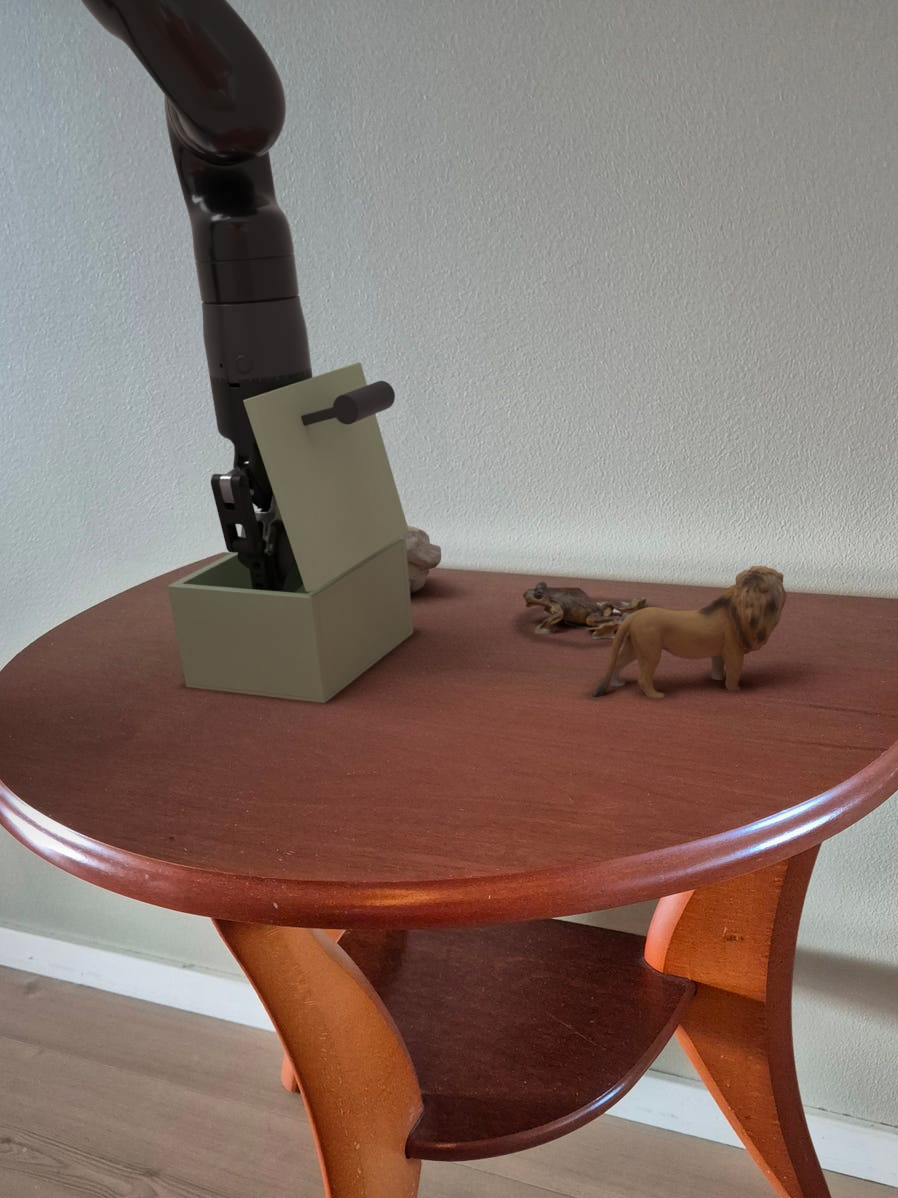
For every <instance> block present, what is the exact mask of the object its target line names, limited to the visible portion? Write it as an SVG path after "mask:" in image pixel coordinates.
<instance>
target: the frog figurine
mask: <svg viewBox="0 0 898 1198" xmlns="http://www.w3.org/2000/svg"><path fill="white" fill-rule="evenodd" d="M522 597H523V599H524V601H525V607H526V608H532V607H535V606H536V607H537V606H540V607H543V610H544V611H543V613H544V614H547V615H551V616H549V617H547V618H544V619H543V620H542V622H541V623H540V624H539V625H538V626H536V628H535V630H534V633H535V634H539V635H549V634H554V633H556V628H555V627H554V625H557V624H558V623H560V622H561V621H562V620H563V622H564V624H565V625H567V626H570V627H573V628H577V629H585V631H593V633H592V634H591V639H593V640H599V639H614V637H615V635H616V633H615V631H616V630H617V629H618V628H619V624H622V622H623V621H624V620H625V619H626V618H627V617H628V616H629V615H630V614H632V613H634V612H636V611H638V610H641V609H644V608H647V607H649V606H648V603H647V599H646V598H645V597H643V596H639V597H636V598H635V599H634V598H631V599H630V600H629V602H625V601H621V600H606V601H597V600H593V598H591V597H590V596H589V595H588V593H587V592H586V591H583V590H582V588H580V587H573V586H572V587H570V586H569V587H567V586H566V587H565V586H564V587H547V582H544V581H543V582H542V581H541V582H538V583H537V584H536V585H535V587H534V588H527V589H525V591H524V592H523V595H522ZM614 613H620V614H622V616H620V615H614Z"/></svg>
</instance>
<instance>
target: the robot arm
mask: <svg viewBox="0 0 898 1198" xmlns="http://www.w3.org/2000/svg"><path fill="white" fill-rule="evenodd" d="M81 3H82V4H83V5H84V7H85V8H86V9H87V11H88V12H89V13H90V14H91V15H92V17H93V18H94V19H95V20H96V21H97V22H98V23H99V24H100V26H101V27H102V28H103V29H105V31H107V32H108V33H109V34H110V35H111V36H113V37H115V38H117V39H118V40H120V41H122V42H123V43H124V44H125V46H127V47H128V48H129V50H130V51H131V52H132V53H133V55H134V56H135V58H136V59H137V60H138V61H139V63H140V64H141V65H142V66H143V68H144V69H145V71H146V72H147V73H148V75H149V76H150V78H152V80H153V81H154V83H155V84H156V85H157V86H158V88H159V89H160V91H161V92H162V93H163V96H164V97H163V98H164V99H163V100H164V101H163V103H164V114H165V122H166V128H167V134H168V139H169V143H170V147H171V148H170V149H171V152H172V157H173V161H174V166H175V171H176V173H177V177H178V182H179V185H180V188H181V194H182V195H183V200H184V203H185V206H186V210H187V213H188V217H189V222H190V228H191V235H192V247H193V256H194V260H195V261H194V264H195V270H196V276H197V283H198V289H199V295H200V301H201V311H202V335H203V336H202V337H203V344H204V349H205V356H206V362H207V368H208V375H209V381H210V387H211V388H210V389H211V395H212V401H213V407H214V414H215V421H216V426H217V431H218V433H219V435H220V436H221V437H223V438H225V439H228V440H229V441H230V442H231V443H232V445H233V451H234V454H233V462H232V463H233V465H232V466H233V467H232V469H231V470H230V471H228V472H227V473H213V474H212V475H211V476H210V477H211V478H210V487H211V491H212V494H213V498H214V502H215V506H216V510H217V514H218V519H219V523H220V527H221V531H222V535H223V539H224V543H225V547H226V548H225V549H226V551H227V552H228V553H232V552H233V553H243V554H245V555H246V556H247V558H248V563H249V570H250V576H251V583H252V589H254V590H266V591H278V592H282V585H281V578H280V572H279V565H278V556H277V554H274V553H275V549H276V538H277V529H278V527H279V526H280V525H282V524H283V520H282V517H281V514H280V511H279V508H278V505H277V502H276V499H275V496H274V493H273V490H272V487H271V484H270V481H269V478H268V475H267V472H266V468H265V465H264V462H263V459H262V456H261V453H260V450H259V447H258V444H257V441H256V438H255V435H254V432H253V429H252V426H251V423H250V420H249V417H248V414H247V411H246V408H245V405H244V402H243V401H244V400H246V399H249V398H252V397H255V396H258V395H261V394H264V393H267V392H270V391H273V390H276V389H279V388H282V387H285V386H288V385H291V384H294V383H298V382H301V381H304V380H307V379H310V378H312V377H313V370H312V368H313V367H312V360H311V353H310V352H311V351H310V344H309V334H308V329H307V324H306V319H305V316H304V312H303V307H302V303H301V297H300V295H299V294H300V287H299V280H298V269H297V262H296V261H297V260H296V255H295V249H294V241H293V235H292V230H291V226H290V223H289V220H288V218H287V216H286V214H285V212H284V211H283V209H282V208H281V207H280V205H279V203H278V200H277V196H276V190H275V183H274V182H275V181H274V176H273V170H272V164H271V163H272V162H271V157H270V150H271V149H272V148H273V147H274V146H275V145H276V143H277V141H278V140H279V138H280V136H281V135H282V134H281V133H282V132H283V129H284V125H285V122H286V114H287V102H286V100H287V99H286V94H285V89H284V87H283V82H282V79H281V76H280V75H279V72H278V69H276V66H275V64H274V62H273V61H272V59H271V57H270V56H269V54H268V52H267V50H266V48H265V47H264V46H263V44H262V43H261V41H260V40H259V39H258V37H257V36H256V35H255V33H254V32H253V31H252V29H251V28H250V27H249V26H248V24H247V23H246V22H245V21H244V19H243V18H242V17H241V16H240V14H239V13H238V12H237V11H236V10H235V8H234V7H233V6H232V5H231V4H230V3H229V1H227V0H81ZM255 507H256V509H257V510H261V509H270V510H269V511H267V512H259V511H256V510H255ZM258 524H264V531H263V539H262V538H261V537H260V532H259V528H258ZM237 525H240V526H241V531H240V535H239V532H238V528H237Z"/></svg>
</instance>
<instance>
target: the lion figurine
mask: <svg viewBox="0 0 898 1198" xmlns="http://www.w3.org/2000/svg"><path fill="white" fill-rule="evenodd" d="M783 583H784V573H782V572H778V571H777V570H776V569H774V568H771V567H767V566H764V565H753V566H751V567H749V569H744V570H743V571H741V572H739V573H737V574H736V576H735V584H733V585H731V586H729V587H728V588H727V589H726V590H725V591H723V592H722V593H721V594H720V595H719V596H718V597H717V598H716V599H713V600H712V601H711V602H710V603H709V604H708V605H707V606H704V607H702V608H701V609H693V610H674V609H673V610H672V609H667V608H663V607H658V606H648V607H647V608H644V609H641V610H638V611H636V612H634V613H632V614H630V615H629V616H628V617H627V618H626V619H625V620H624V621H623V622H622V623H620V625H619V626H618V628H617V630H616V632H615V634H616V635H615V637H614V638H613V640H612V644H611V648H610V652H609V656H608V662H607V666H606V667H607V668H606V672H605V675H604V677H603V680H602V682H601V683H600V684H599V685H598V687H597V688H596V690H595V691H594V692H593V693H592V697H602V696H603V695H604V694H605V693H606V692H607V690H608V689H609V687H623V686H624V685H626V681H624V680H622V679H619V675H620V673H621V672H622V671H623V670H624V669H625V668H626V667H627V666H629V665H631V664H632V663H633V662H634V661H635V660H637V661H638V665H639V675H638V680H637V684H638V685H639V687H640V688H641V690H642V691H643V693H644V695H645V696H646V697H648V698H658V699H661V698H665V696H666V695H665V693H663V692H661V691H660V692H659V691H657V690H656V689H655V688H654V685H653V684H654V683H653V678H654V674H655V673H656V670H657V667H658V666H659V664H660V662H661V657H662V651H665V652H667V653H669V654H670V655H672V656H674V657H677V658H681V659H685V660H703V659H708V658H709V659H710V658H711V670H710V679H712V680H715V681H723V680H724V679H725V687H726V690H728V691H739V690H742V688H741V686H739V682H740V681H739V680H740V677H741V674H742V670H743V666H744V661H745V660H744V659H745V655H748V654H750V653H751V652H757V651H760V650H761V648H762V647H763V646H765V645H767V643H768V641H769V638H770V637H771V634H772V632H773V631H774V630H775V628H776V627H777V626H778V625H779V622H780V620H781V615H782V612H783V609H784V607H785V604H786V600H787V593H786V590H785V587H784V584H783ZM624 639H625V640H624ZM623 642H624V643H623ZM622 644H623V646H622ZM724 671H725V674H724Z"/></svg>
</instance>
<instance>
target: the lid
mask: <svg viewBox="0 0 898 1198" xmlns="http://www.w3.org/2000/svg"><path fill="white" fill-rule="evenodd" d="M395 398H396V394H395V390H394V387H393V386H392V385H391V384H390V383H389V382H387V381H384V380H378V381H375V382H373V383H370V384H367V380H366V375H365V372H364V369H363V366H362V363H361V361H359V362H355V363H352V364H348V365H346V366H343V367H340V368H337V369H334V370H331V371H327V372H325V373H321V374H319V375H315V376H312V378H310V379H307V380H304V381H301V382H298V383H294V384H291V385H288V386H285V387H282V388H279V389H276V390H273V391H270V392H267V393H264V394H261V395H258V396H255V397H252V398H249V399H246V400H244V401H243V402H244V405H245V408H246V411H247V414H248V417H249V420H250V423H251V426H252V429H253V432H254V435H255V438H256V441H257V444H258V447H259V450H260V453H261V456H262V459H263V462H264V465H265V468H266V472H267V475H268V478H269V481H270V484H271V487H272V490H273V493H274V496H275V499H276V502H277V505H278V508H279V511H280V514H281V517H282V520H283V523H284V526H285V529H286V532H287V535H288V538H289V541H290V544H291V547H292V550H293V553H294V556H295V559H296V562H297V565H298V569H299V572H300V575H301V578H302V581H303V584H304V587H305V590H306V592H310V591H315V590H317V589H318V588H320V587H322V586H323V585H325V584H326V583H328V582H329V581H331V580H333V579H334V578H336V577H337V576H339V575H341V574H342V573H344V572H345V571H347V570H349V569H350V568H352V567H353V566H355V565H357V564H358V563H360V562H361V561H363V560H365V559H366V558H368V557H369V556H371V555H373V554H374V553H376V552H377V551H379V550H381V549H382V548H384V547H385V546H387V545H389V544H390V543H392V542H393V541H395V540H397V539H398V538H400V537H401V536H403V535H404V534H406V533H408V532H409V530H408V526H409V525H408V522H407V519H406V516H405V512H404V509H403V505H402V502H401V498H400V495H399V492H398V488H397V485H396V481H395V478H394V474H393V470H392V467H391V464H390V463H391V462H390V459H389V456H388V453H387V450H386V446H385V443H384V439H383V435H382V432H381V428H380V425H379V422H378V418H377V414H378V413H381V412H383V411H386V410H388V409H390V408H391V407H392V406H393V405H394V403H395ZM407 525H408V526H407Z"/></svg>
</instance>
